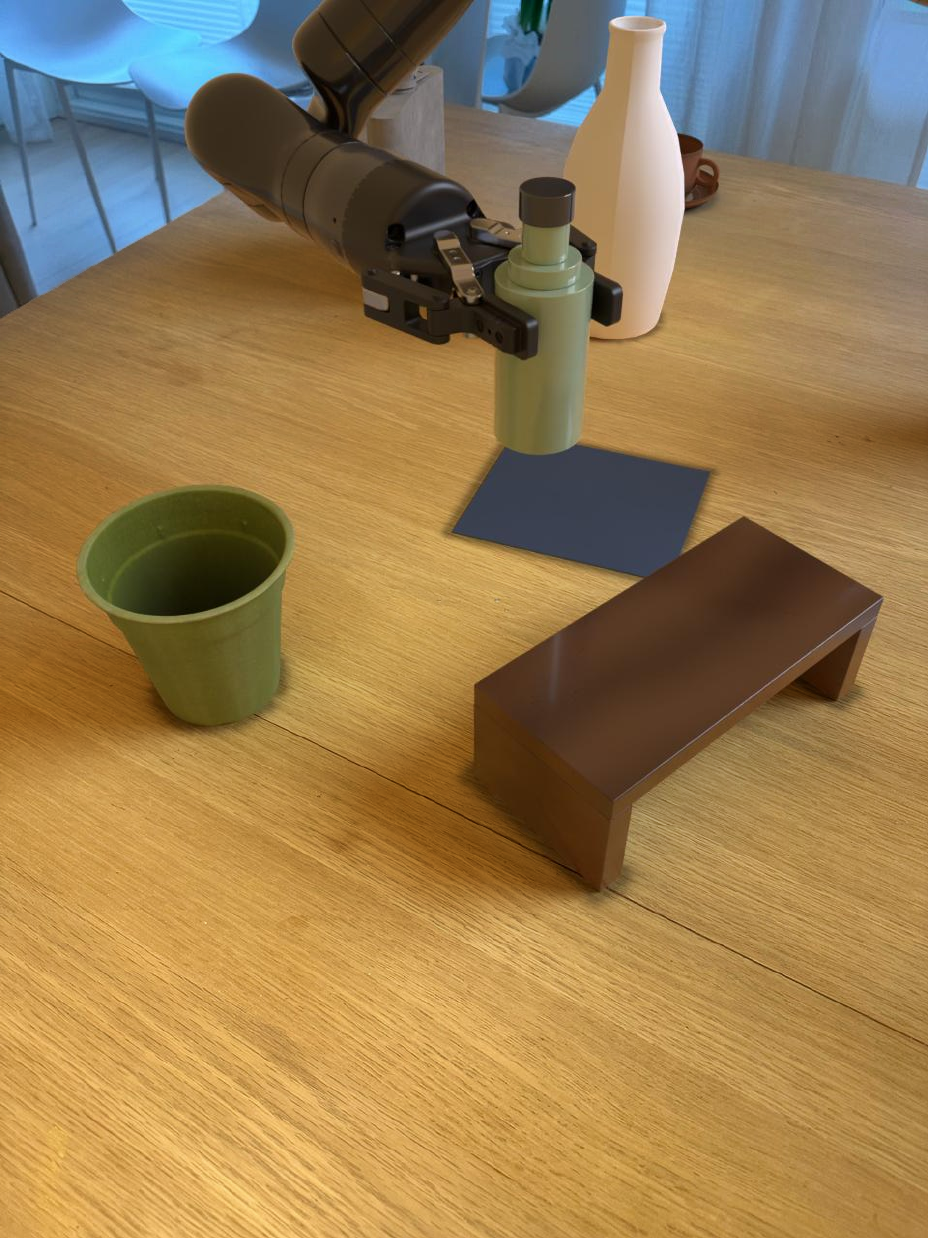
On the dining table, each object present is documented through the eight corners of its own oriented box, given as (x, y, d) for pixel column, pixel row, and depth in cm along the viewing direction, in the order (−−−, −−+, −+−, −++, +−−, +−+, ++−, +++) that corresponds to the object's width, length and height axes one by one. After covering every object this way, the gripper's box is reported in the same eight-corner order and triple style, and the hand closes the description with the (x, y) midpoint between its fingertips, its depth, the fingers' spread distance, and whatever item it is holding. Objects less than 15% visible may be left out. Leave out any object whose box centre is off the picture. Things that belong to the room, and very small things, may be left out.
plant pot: (157, 617, 70) (118, 478, 63) (332, 628, 69) (314, 489, 62) (94, 753, 62) (40, 612, 54) (292, 769, 61) (266, 627, 53)
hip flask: (405, 309, 102) (393, 88, 89) (365, 305, 103) (348, 84, 89) (450, 243, 113) (446, 37, 100) (414, 239, 114) (405, 34, 101)
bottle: (586, 359, 95) (611, 49, 78) (531, 307, 102) (542, 13, 85) (691, 334, 98) (738, 31, 81) (630, 285, 106) (660, -2, 88)
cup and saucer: (718, 183, 125) (727, 129, 121) (713, 223, 117) (722, 166, 112) (618, 175, 127) (623, 122, 123) (605, 214, 119) (609, 158, 114)
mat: (709, 476, 82) (710, 471, 81) (668, 588, 72) (669, 582, 72) (514, 436, 86) (514, 431, 86) (451, 537, 76) (451, 531, 76)
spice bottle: (594, 417, 62) (614, 175, 53) (564, 463, 59) (580, 214, 49) (513, 399, 64) (518, 161, 54) (479, 443, 60) (478, 198, 51)
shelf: (473, 780, 60) (473, 684, 55) (723, 610, 70) (743, 515, 65) (599, 897, 54) (613, 802, 49) (850, 693, 65) (885, 596, 59)
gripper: (281, 189, 59) (466, 296, 49) (482, 132, 65) (683, 217, 55) (297, 313, 64) (467, 433, 54) (483, 250, 70) (666, 347, 60)
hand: (575, 323), depth 55 cm, fingers closed on spice bottle, 5 cm apart
